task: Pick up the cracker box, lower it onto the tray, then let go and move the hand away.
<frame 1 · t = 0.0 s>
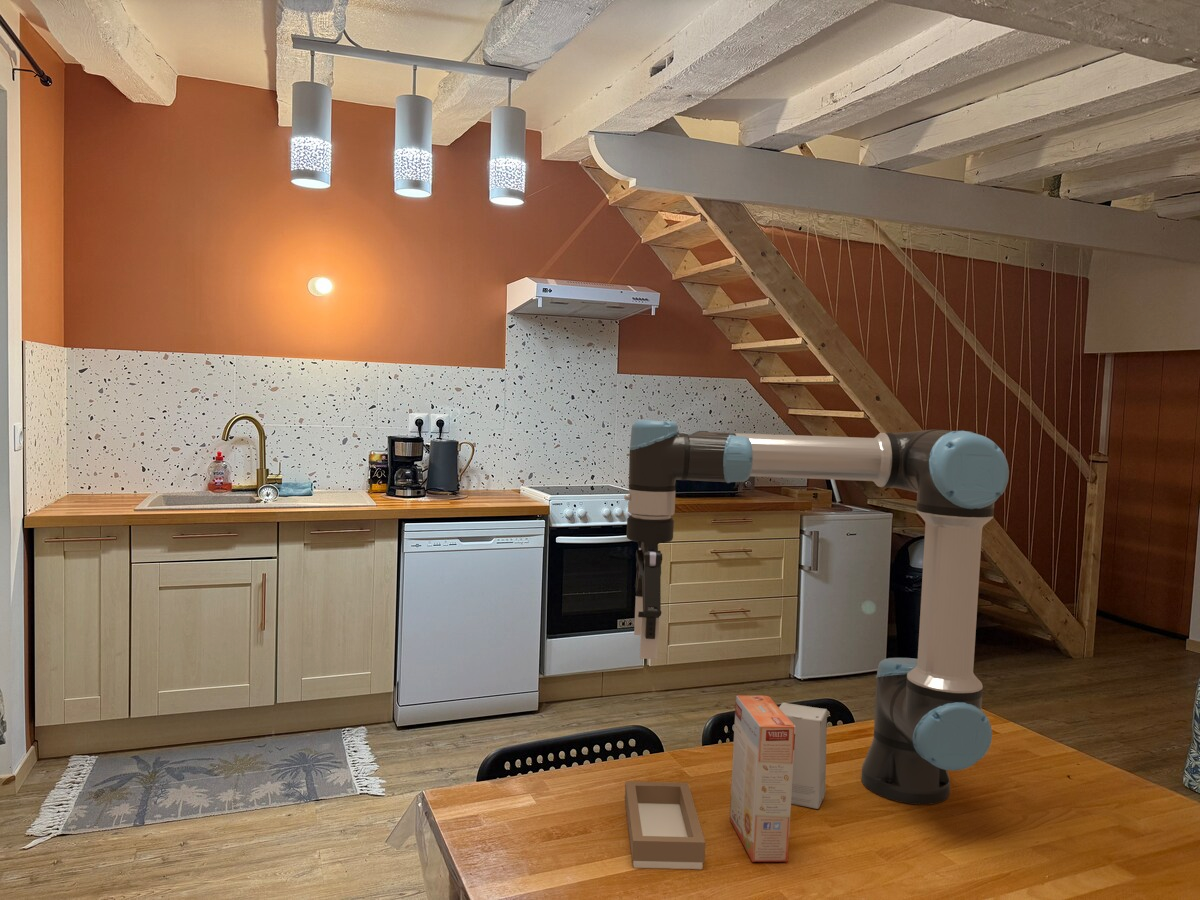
hand: (645, 646, 143), 28 cm above the table, fingers open, 13 cm apart
cracker box: (757, 841, 138), on the table
skincare box: (797, 799, 153), on the table
tray: (661, 834, 138), on the table
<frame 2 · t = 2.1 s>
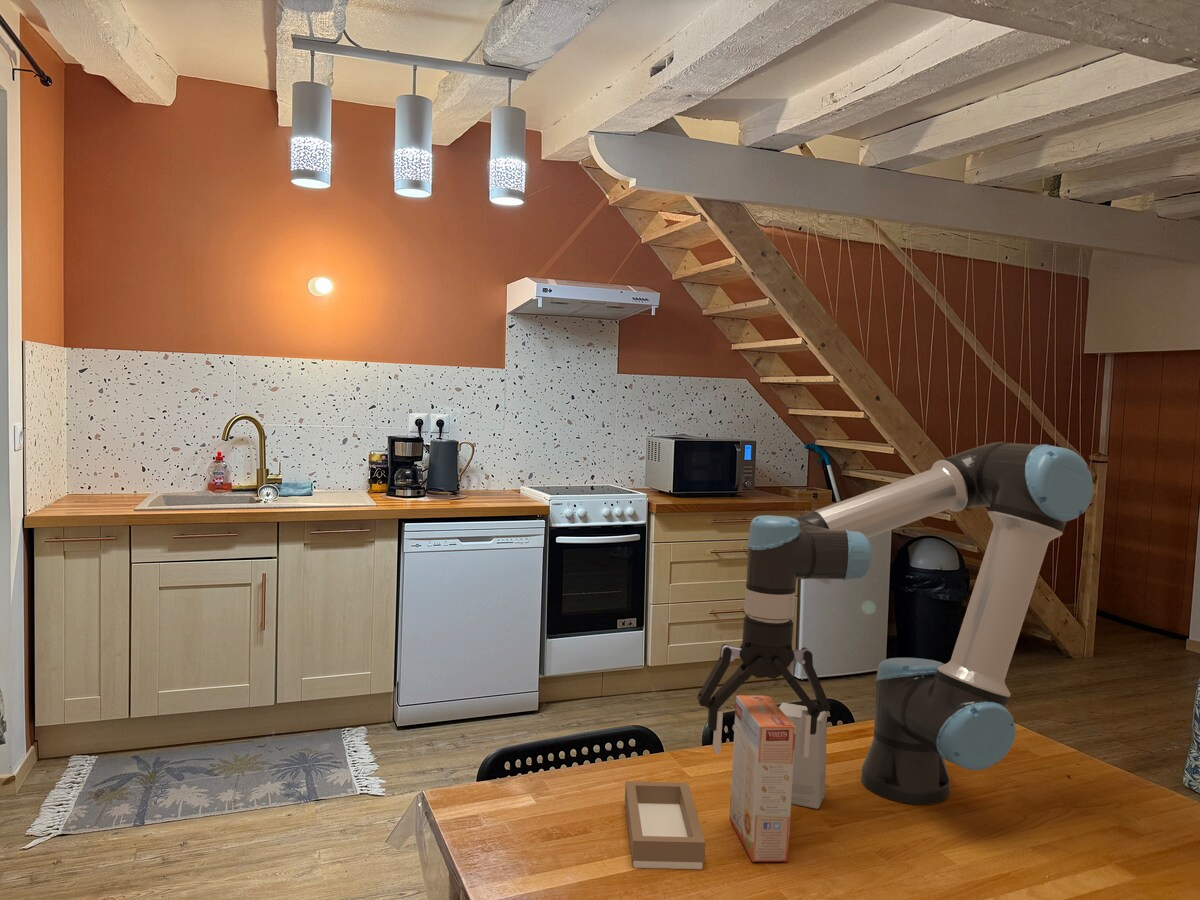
hand: (760, 752, 137), 14 cm above the table, fingers open, 13 cm apart
nothing on the table moved.
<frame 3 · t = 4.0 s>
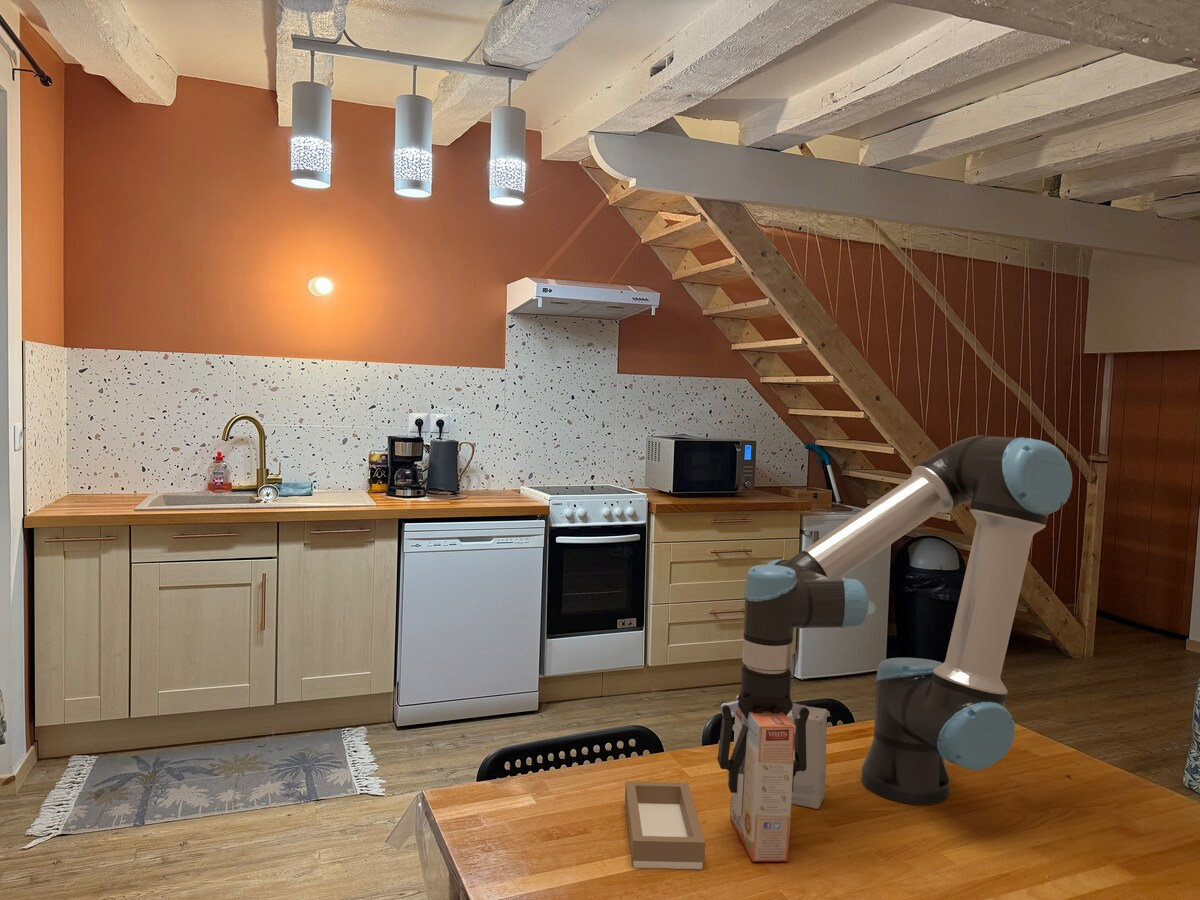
hand: (759, 812, 137), 4 cm above the table, fingers closed on cracker box, 6 cm apart
cracker box: (758, 841, 138), on the table, touching gripper
everything else where it was.
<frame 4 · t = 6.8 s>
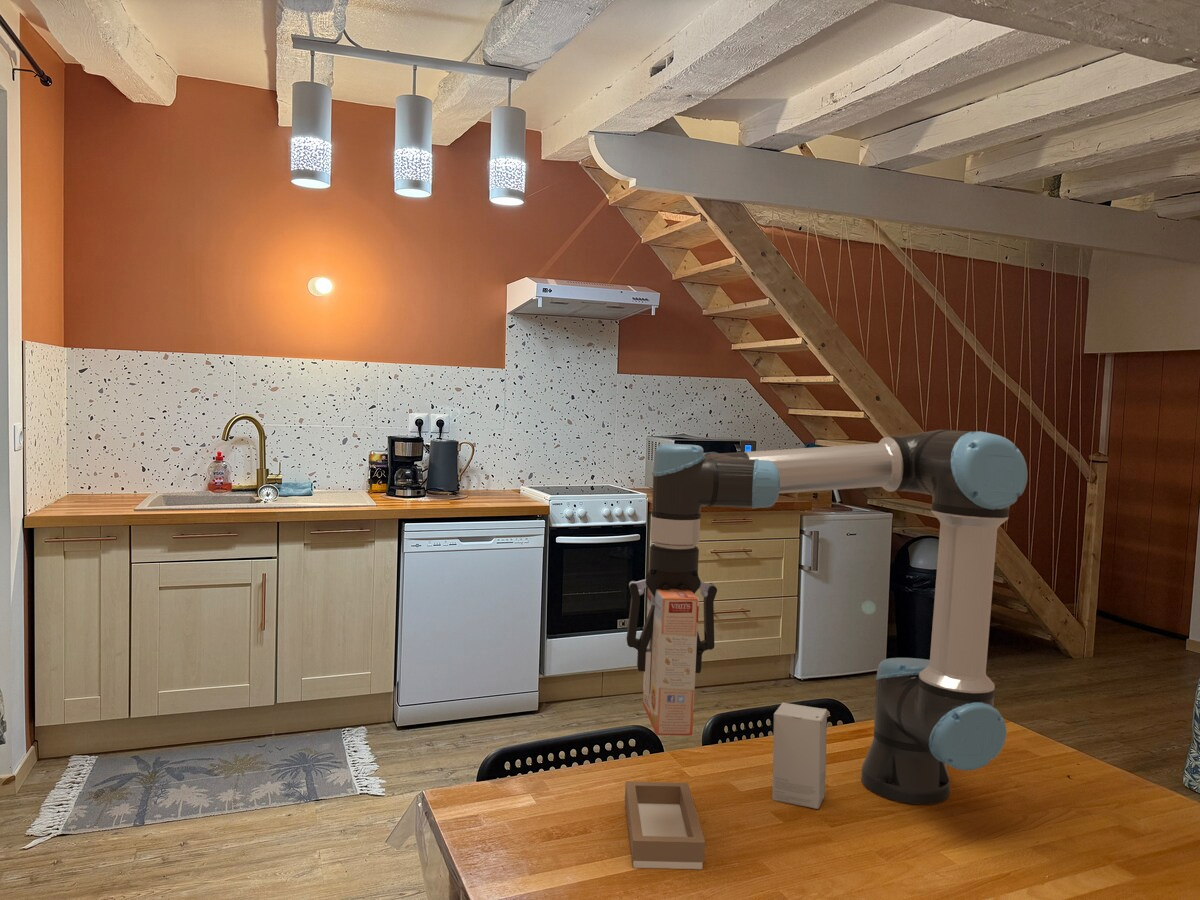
hand: (667, 691, 137), 23 cm above the table, fingers closed on cracker box, 6 cm apart
cracker box: (667, 721, 137), point 18 cm above the table, touching gripper
everything else where it was.
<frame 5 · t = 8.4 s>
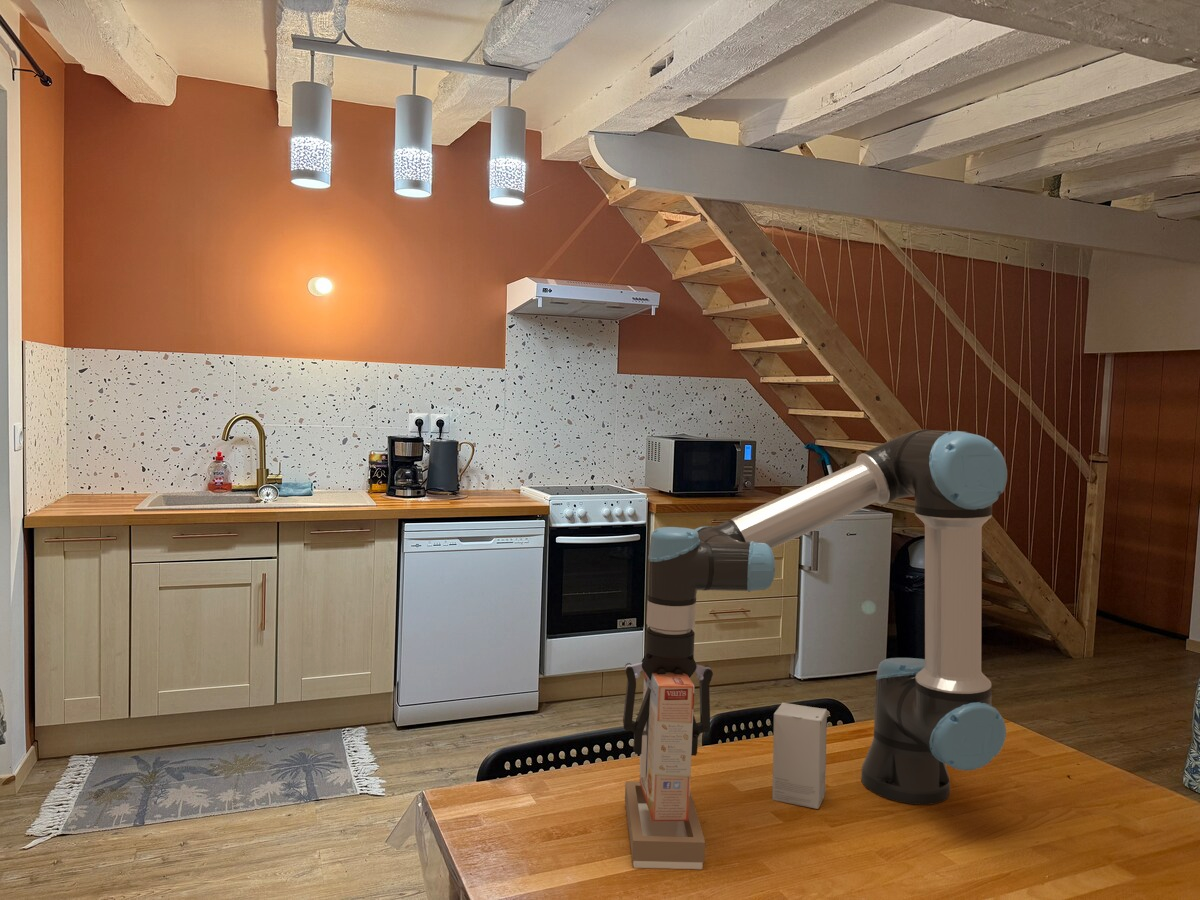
hand: (664, 773, 138), 10 cm above the table, fingers closed on cracker box, 6 cm apart
cracker box: (663, 802, 138), point 5 cm above the table, touching gripper
everything else where it was.
when the fingers open (6 cm above the table, at t = 9.8 s): cracker box stays where it is, resting on tray.
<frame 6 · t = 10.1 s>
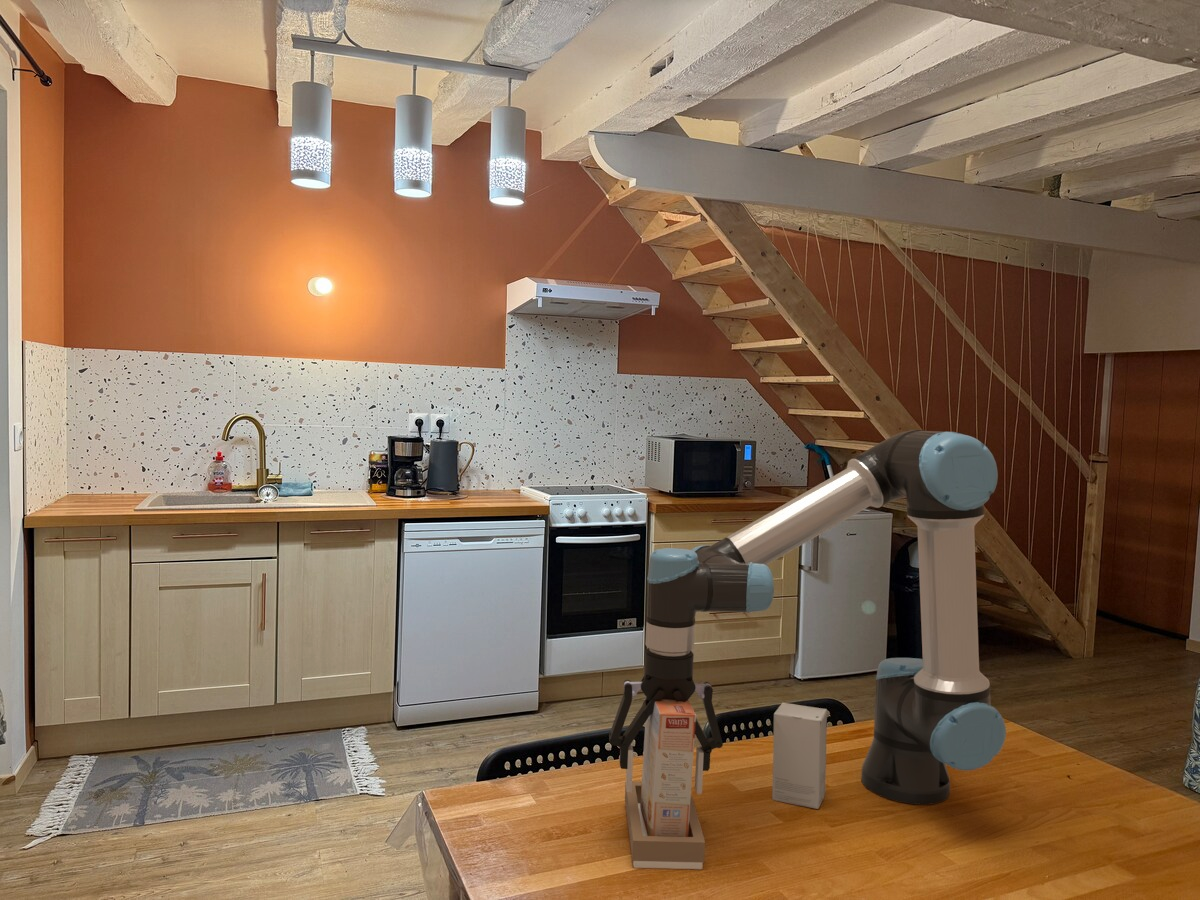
hand: (663, 789, 138), 7 cm above the table, fingers open, 10 cm apart
cracker box: (663, 829, 138), point 1 cm above the table, touching tray
everything else where it was.
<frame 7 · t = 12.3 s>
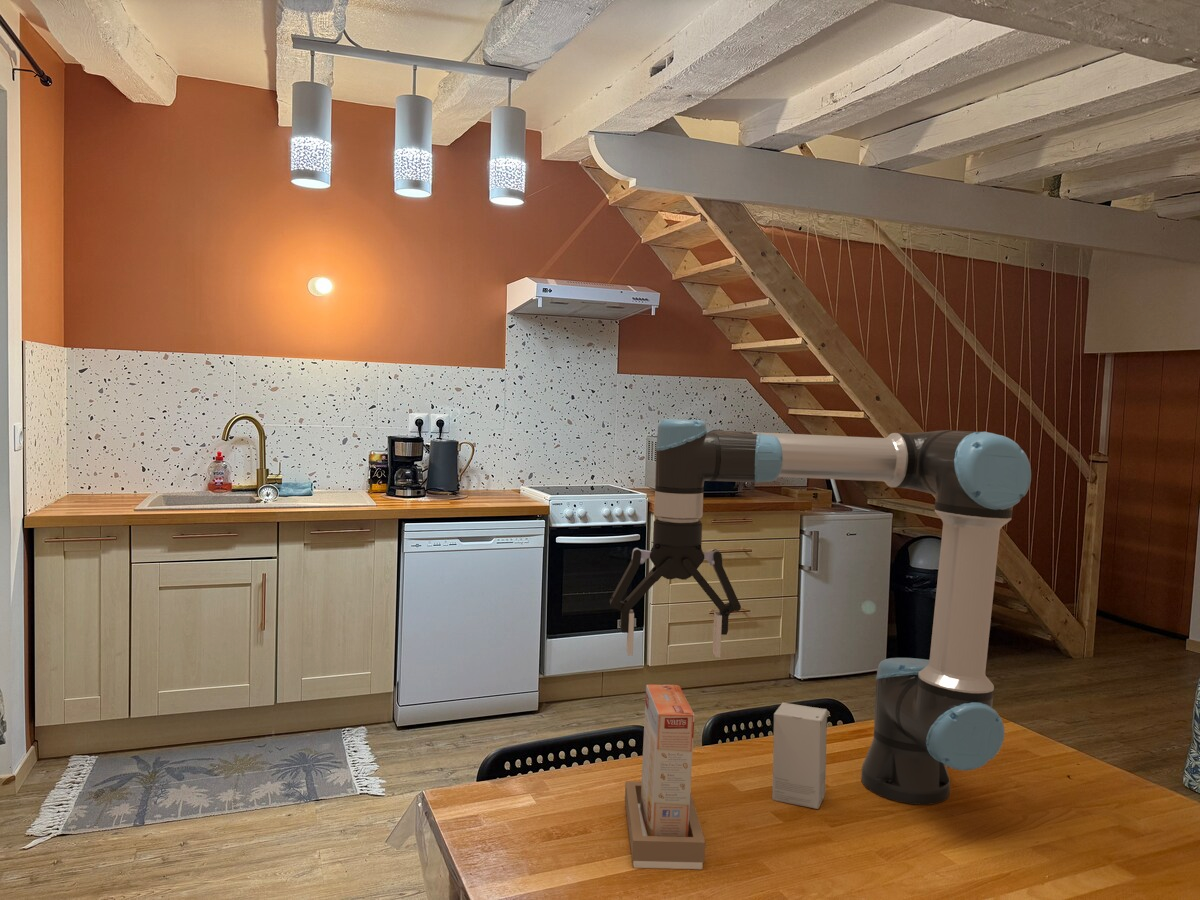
hand: (673, 654, 138), 28 cm above the table, fingers open, 13 cm apart
nothing on the table moved.
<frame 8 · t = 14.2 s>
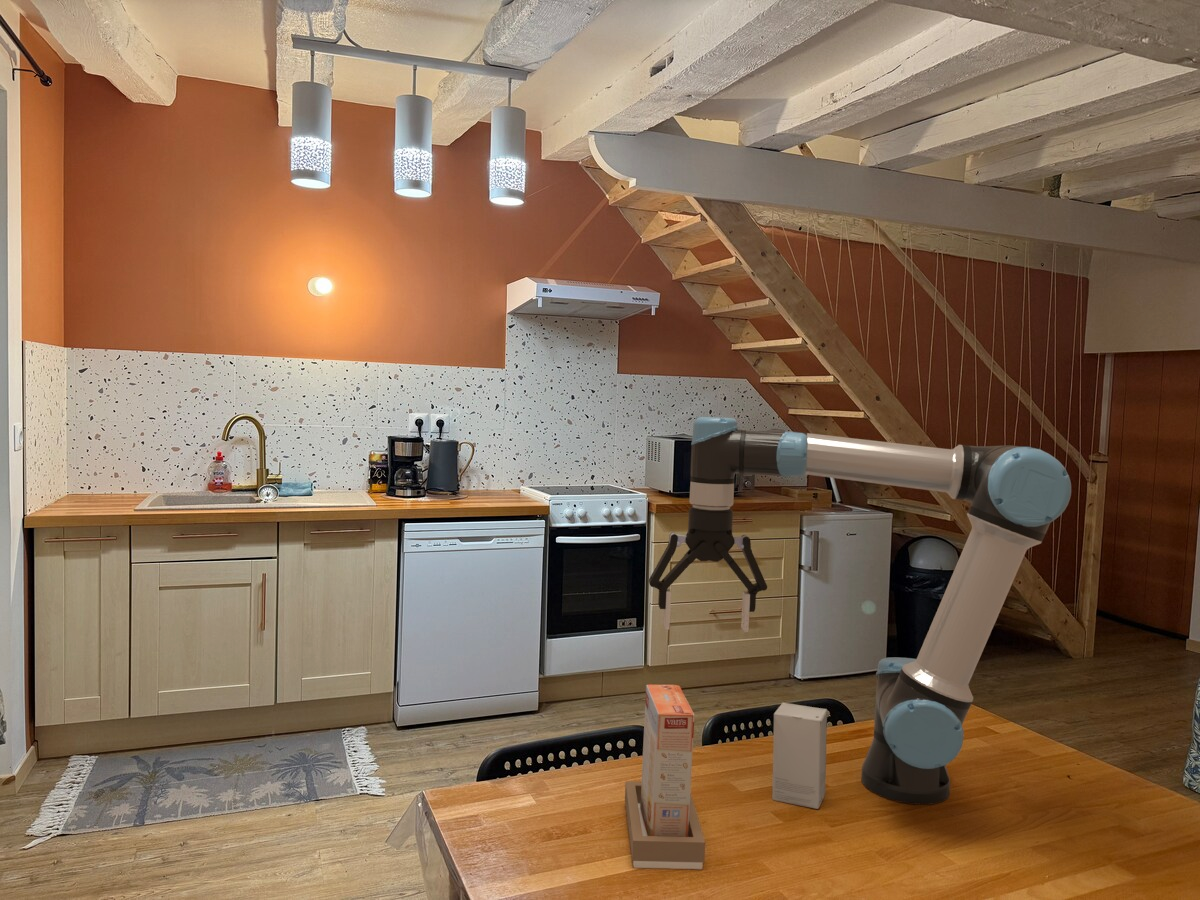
hand: (705, 629, 153), 29 cm above the table, fingers open, 13 cm apart
nothing on the table moved.
at the end: cracker box inside the target area on the tray (0.3 cm from its centre), point 0.8 cm above the tray's base; cracker box tilted 0°; the gripper is holding nothing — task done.
